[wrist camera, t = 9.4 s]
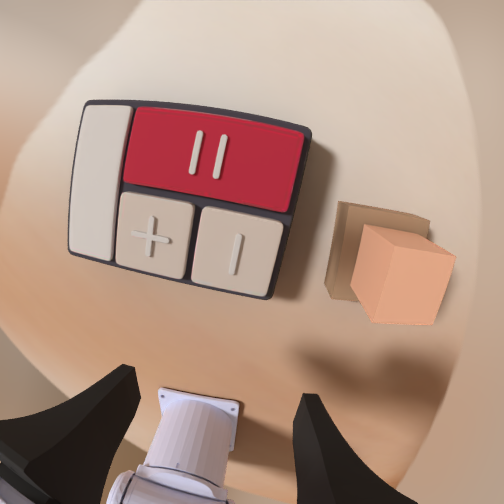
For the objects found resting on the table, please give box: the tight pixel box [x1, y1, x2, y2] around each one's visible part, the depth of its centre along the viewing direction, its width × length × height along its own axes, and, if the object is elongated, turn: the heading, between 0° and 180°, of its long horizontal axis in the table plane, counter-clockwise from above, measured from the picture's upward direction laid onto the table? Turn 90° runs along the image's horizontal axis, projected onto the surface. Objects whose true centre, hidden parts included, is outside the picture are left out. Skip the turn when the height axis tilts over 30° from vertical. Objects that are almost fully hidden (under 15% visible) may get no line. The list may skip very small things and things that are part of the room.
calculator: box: [68, 100, 312, 300], centre depth 17 cm, size 11×4×15 cm
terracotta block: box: [350, 224, 456, 325], centre depth 14 cm, size 4×4×4 cm
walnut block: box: [324, 201, 430, 301], centre depth 18 cm, size 6×6×3 cm
